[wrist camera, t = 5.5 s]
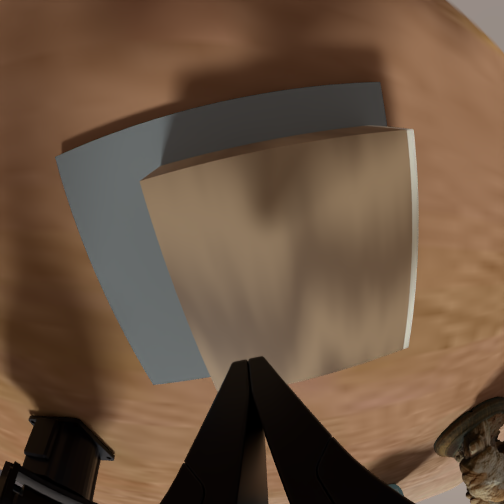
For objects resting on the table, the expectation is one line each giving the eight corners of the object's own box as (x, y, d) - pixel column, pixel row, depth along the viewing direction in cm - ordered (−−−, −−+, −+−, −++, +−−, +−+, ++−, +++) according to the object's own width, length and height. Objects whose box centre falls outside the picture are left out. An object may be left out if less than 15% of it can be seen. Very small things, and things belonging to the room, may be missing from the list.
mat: (387, 324, 18) (391, 330, 17) (154, 378, 18) (153, 384, 17) (373, 83, 12) (380, 82, 11) (61, 155, 12) (55, 157, 11)
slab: (218, 349, 16) (379, 309, 16) (220, 397, 13) (408, 347, 13) (160, 165, 12) (369, 125, 12) (139, 181, 9) (413, 129, 9)
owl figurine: (517, 396, 29) (564, 465, 14) (469, 445, 33) (506, 514, 18) (479, 394, 25) (543, 496, 9) (413, 455, 28) (456, 553, 13)
